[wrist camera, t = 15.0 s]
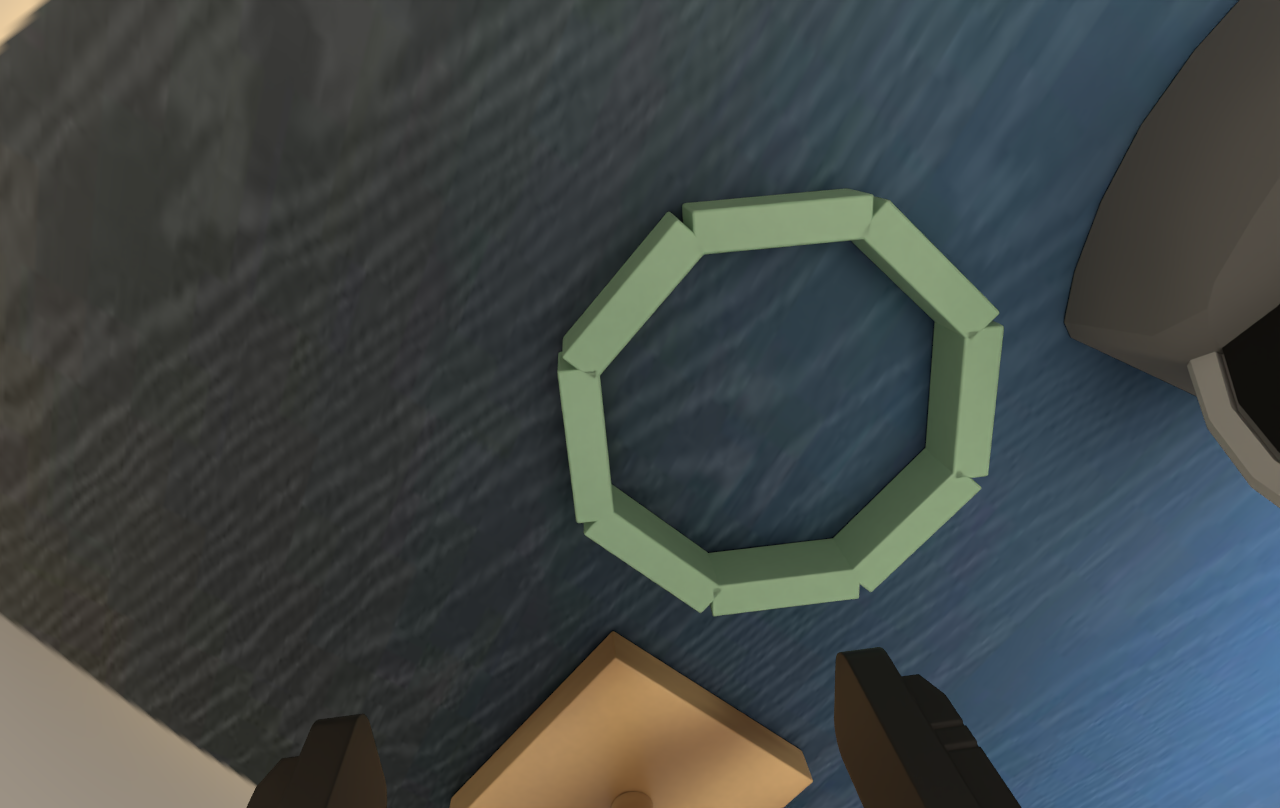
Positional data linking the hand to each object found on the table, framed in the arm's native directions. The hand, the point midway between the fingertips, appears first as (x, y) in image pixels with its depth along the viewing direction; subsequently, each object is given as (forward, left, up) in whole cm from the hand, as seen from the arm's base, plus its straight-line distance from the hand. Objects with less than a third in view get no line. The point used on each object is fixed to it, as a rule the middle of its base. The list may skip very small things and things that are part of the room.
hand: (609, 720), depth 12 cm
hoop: (+6, -2, -12) cm, 13 cm away
